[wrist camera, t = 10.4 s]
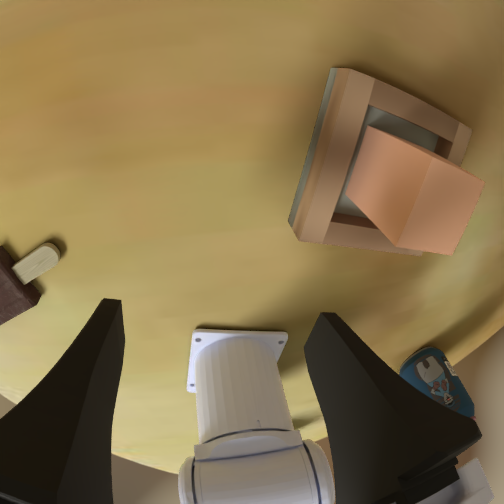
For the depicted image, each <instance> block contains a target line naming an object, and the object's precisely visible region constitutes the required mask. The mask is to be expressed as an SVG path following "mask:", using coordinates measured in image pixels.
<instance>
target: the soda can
mask: <svg viewBox="0 0 504 504" xmlns="http://www.w3.org/2000/svg"><path fill="white" fill-rule="evenodd" d="M399 376H401V377H402V378H403V379H405V380H406V381H407V382H408V383H410V384H411V385H412V386H414V387H415V388H416V389H418V390H419V391H421V392H422V393H424V394H425V395H427V396H428V397H430V398H431V399H433V400H435V401H436V402H438V403H440V404H442V405H443V406H445V407H447V408H449V409H451V410H453V411H455V412H457V413H460V414H462V415H464V416H467V417H469V418H472V419H474V420H475V419H476V417H475V416H474V403H473V402H472V400H471V398H470V396H469V395H468V393H467V391H466V389H465V388H464V386H463V384H462V383H461V381H460V379H459V377H458V376H457V374H456V373H455V371H454V369H453V368H452V366H451V364H450V363H449V361H448V360H447V358H446V356H445V355H444V353H443V352H442V351H441V350H439V349H436V348H434V347H425V348H423V349H421V350H419V351H417V352H415V353H414V354H412V355H411V356H410V357H409V358H408V359H407V360H406V361H405V362H404V363H403V364H402V366H401V367H400V374H399Z"/></svg>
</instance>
